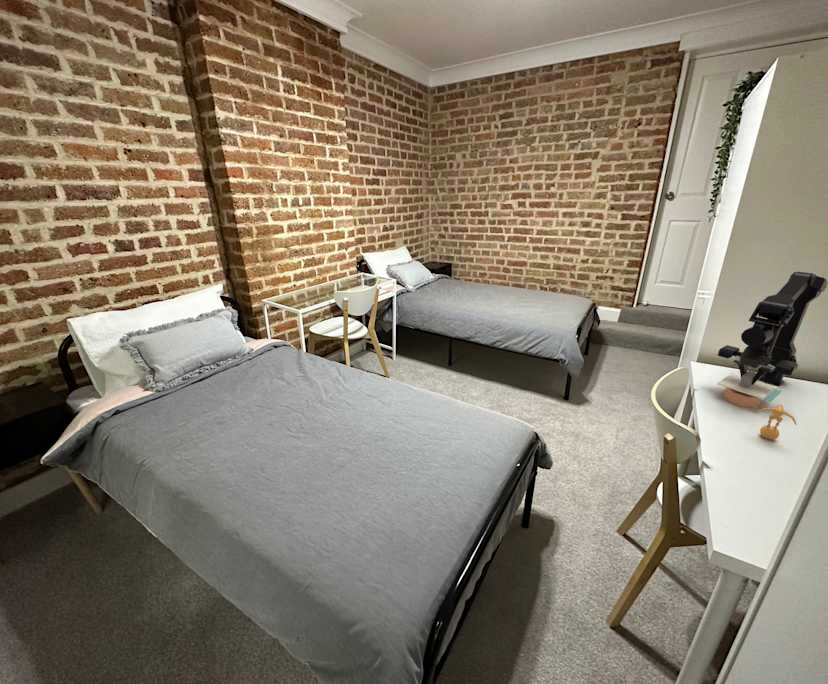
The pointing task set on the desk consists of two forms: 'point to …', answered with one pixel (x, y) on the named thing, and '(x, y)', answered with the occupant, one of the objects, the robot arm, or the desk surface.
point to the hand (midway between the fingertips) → (747, 382)
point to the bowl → (741, 398)
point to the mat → (772, 395)
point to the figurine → (772, 431)
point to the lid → (747, 384)
